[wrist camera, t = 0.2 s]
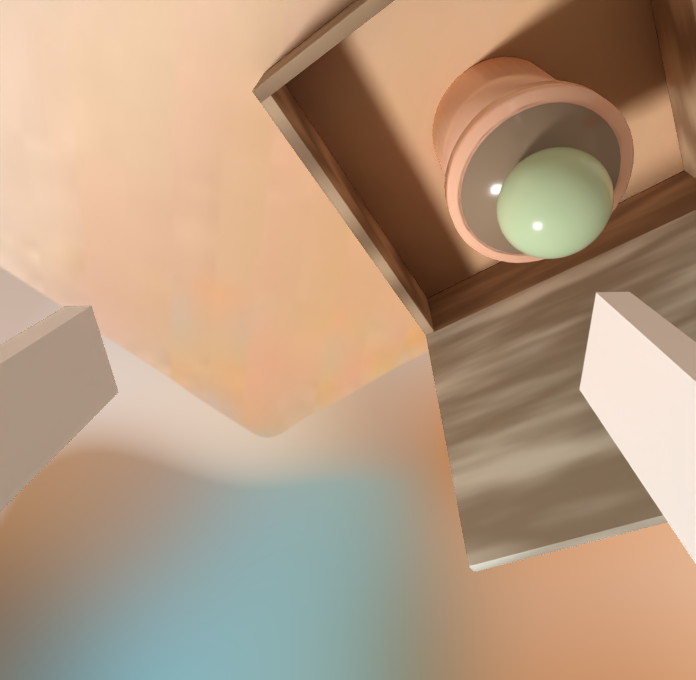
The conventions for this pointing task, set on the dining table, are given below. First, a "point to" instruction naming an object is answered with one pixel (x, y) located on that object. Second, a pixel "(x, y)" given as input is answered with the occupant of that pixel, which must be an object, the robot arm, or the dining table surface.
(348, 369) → the dining table surface
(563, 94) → the seedling pot
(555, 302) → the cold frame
